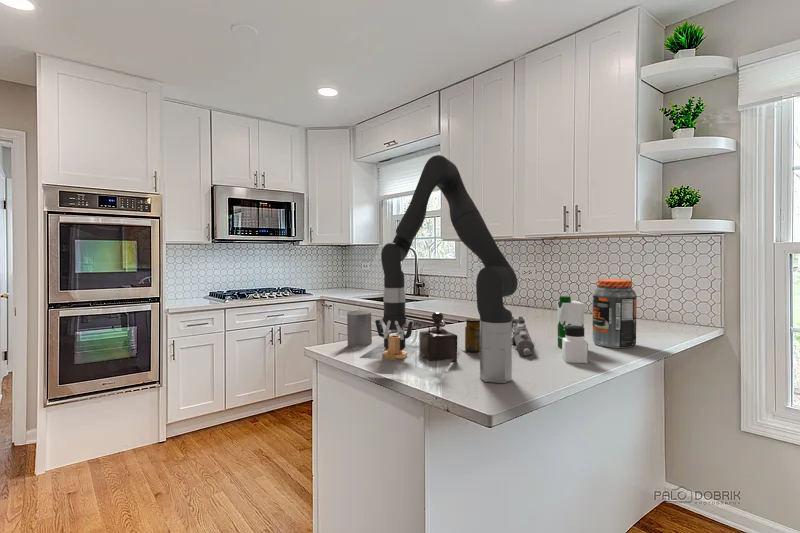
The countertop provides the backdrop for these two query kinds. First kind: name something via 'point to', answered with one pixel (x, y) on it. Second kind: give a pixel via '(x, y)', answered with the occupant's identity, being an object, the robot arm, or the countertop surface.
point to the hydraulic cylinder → (521, 336)
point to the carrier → (378, 351)
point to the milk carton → (568, 315)
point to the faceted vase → (394, 349)
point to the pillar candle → (359, 328)
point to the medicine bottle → (574, 345)
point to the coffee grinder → (438, 342)
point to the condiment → (472, 336)
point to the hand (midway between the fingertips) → (394, 349)
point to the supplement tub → (614, 313)
